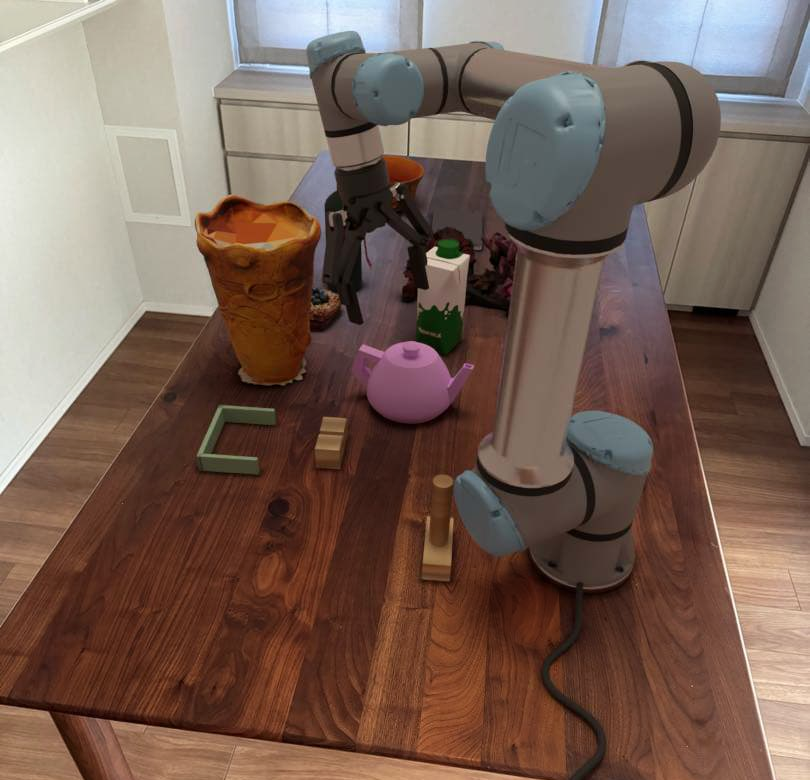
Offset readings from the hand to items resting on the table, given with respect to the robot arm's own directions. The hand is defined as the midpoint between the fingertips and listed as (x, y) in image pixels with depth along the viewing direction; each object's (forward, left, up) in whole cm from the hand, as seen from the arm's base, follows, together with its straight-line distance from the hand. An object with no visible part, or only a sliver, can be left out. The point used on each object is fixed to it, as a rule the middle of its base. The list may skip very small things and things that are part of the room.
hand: (390, 305), depth 125 cm
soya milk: (+29, -7, -23) cm, 37 cm away
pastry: (+37, +20, -23) cm, 47 cm away
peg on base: (-32, -10, -23) cm, 41 cm away
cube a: (-12, +9, -23) cm, 27 cm away
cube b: (-7, +9, -23) cm, 25 cm away
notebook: (+85, -9, -23) cm, 88 cm away
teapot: (+7, -3, -23) cm, 24 cm away
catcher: (-9, +25, -23) cm, 35 cm away
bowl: (+99, +11, -23) cm, 102 cm away
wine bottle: (+52, +14, -23) cm, 58 cm away
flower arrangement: (+51, -14, -23) cm, 57 cm away
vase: (+14, +24, -23) cm, 36 cm away
